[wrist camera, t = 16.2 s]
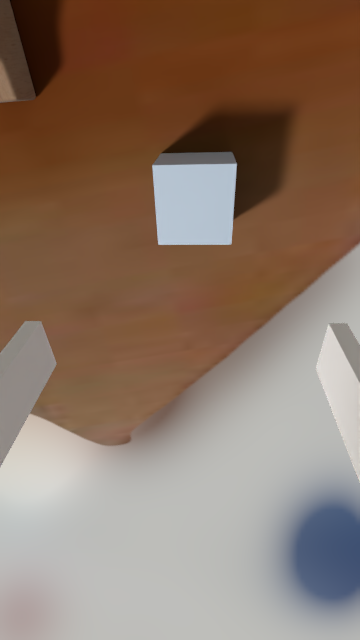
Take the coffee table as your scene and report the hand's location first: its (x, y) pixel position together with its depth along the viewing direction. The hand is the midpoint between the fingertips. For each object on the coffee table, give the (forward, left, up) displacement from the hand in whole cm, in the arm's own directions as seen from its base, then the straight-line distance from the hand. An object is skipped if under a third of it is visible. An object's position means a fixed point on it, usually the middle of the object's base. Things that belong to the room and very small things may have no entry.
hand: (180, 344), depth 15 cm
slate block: (0, 0, -29) cm, 29 cm away
